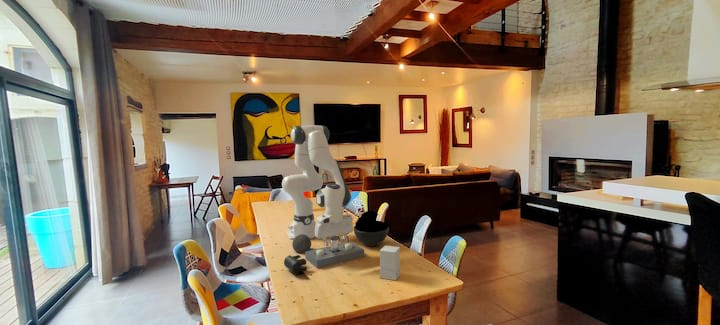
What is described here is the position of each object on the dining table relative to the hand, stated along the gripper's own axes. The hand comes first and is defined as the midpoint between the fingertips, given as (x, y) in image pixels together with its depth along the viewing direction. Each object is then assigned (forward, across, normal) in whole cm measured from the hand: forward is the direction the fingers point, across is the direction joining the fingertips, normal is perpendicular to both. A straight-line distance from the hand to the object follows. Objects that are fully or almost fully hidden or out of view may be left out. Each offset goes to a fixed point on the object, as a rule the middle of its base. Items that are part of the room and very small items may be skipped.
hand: (334, 243), depth 164 cm
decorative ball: (+9, +10, -19) cm, 23 cm away
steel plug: (+7, 0, 0) cm, 7 cm away
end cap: (+9, +22, +2) cm, 24 cm away
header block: (+8, 0, 0) cm, 8 cm away
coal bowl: (+9, -28, -9) cm, 31 cm away
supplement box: (+9, -12, +30) cm, 33 cm away
